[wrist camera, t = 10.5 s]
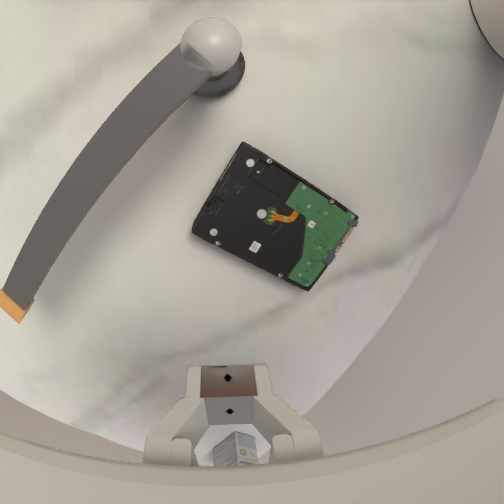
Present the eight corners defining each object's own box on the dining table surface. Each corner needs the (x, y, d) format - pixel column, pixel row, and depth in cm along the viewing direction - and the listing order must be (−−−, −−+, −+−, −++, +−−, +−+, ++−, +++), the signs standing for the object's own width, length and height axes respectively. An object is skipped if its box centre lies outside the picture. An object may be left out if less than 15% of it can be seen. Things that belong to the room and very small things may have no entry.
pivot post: (229, 31, 24) (233, 5, 17) (253, 81, 27) (266, 70, 20) (171, 55, 24) (157, 36, 17) (196, 106, 27) (189, 102, 20)
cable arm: (251, 51, 19) (254, 44, 17) (30, 312, 25) (21, 325, 23) (213, 17, 17) (213, 6, 15) (4, 288, 24) (-7, 300, 22)
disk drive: (191, 224, 33) (303, 281, 37) (189, 234, 30) (309, 294, 34) (241, 139, 29) (353, 210, 34) (243, 141, 27) (364, 218, 31)
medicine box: (231, 452, 52) (235, 488, 44) (212, 447, 50) (214, 485, 43) (254, 435, 50) (260, 474, 42) (234, 430, 48) (238, 471, 40)
